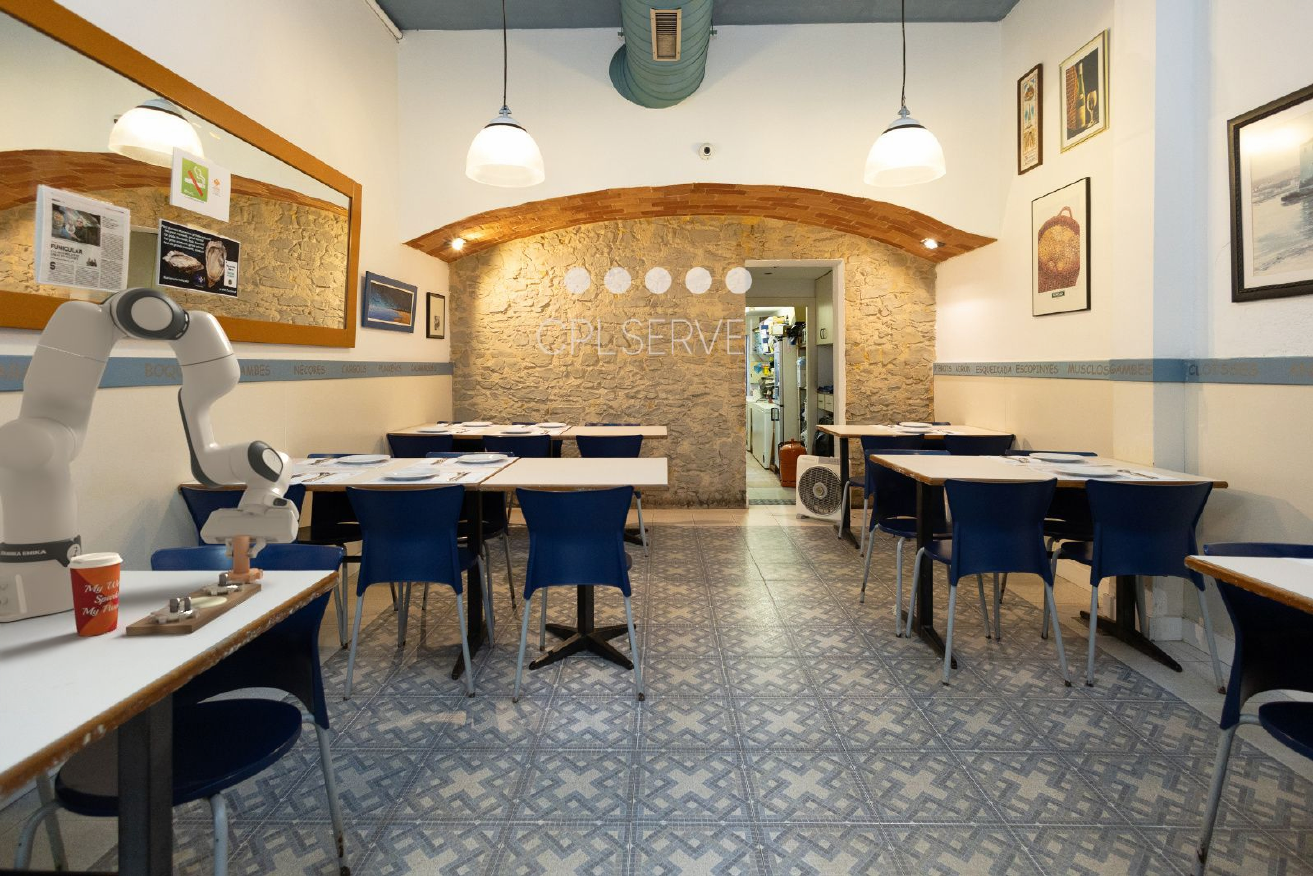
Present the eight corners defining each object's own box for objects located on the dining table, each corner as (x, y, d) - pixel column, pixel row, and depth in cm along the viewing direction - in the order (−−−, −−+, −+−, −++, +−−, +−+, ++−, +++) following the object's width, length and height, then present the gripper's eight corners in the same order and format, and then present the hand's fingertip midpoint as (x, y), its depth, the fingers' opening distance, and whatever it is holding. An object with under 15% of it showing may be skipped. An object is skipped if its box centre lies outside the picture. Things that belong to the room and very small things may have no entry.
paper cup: (92, 640, 115) (90, 562, 115) (57, 636, 117) (55, 559, 116) (135, 625, 123) (133, 552, 122) (102, 622, 125) (101, 550, 124)
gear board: (125, 635, 118) (125, 626, 118) (208, 591, 146) (208, 584, 146) (192, 633, 120) (191, 624, 120) (261, 590, 147) (261, 583, 147)
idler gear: (212, 584, 147) (211, 540, 147) (230, 574, 156) (230, 533, 155) (252, 583, 148) (252, 540, 148) (269, 574, 157) (268, 533, 156)
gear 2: (193, 596, 137) (193, 579, 137) (213, 586, 145) (213, 570, 145) (234, 595, 138) (234, 578, 138) (252, 585, 146) (251, 569, 146)
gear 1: (138, 624, 119) (138, 604, 119) (164, 611, 127) (164, 592, 127) (185, 623, 120) (185, 603, 120) (208, 610, 128) (208, 591, 128)
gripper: (208, 500, 157) (185, 549, 147) (299, 501, 160) (282, 548, 150) (218, 516, 161) (196, 564, 152) (306, 516, 164) (290, 563, 155)
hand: (240, 556), depth 151 cm, fingers closed on idler gear, 3 cm apart
